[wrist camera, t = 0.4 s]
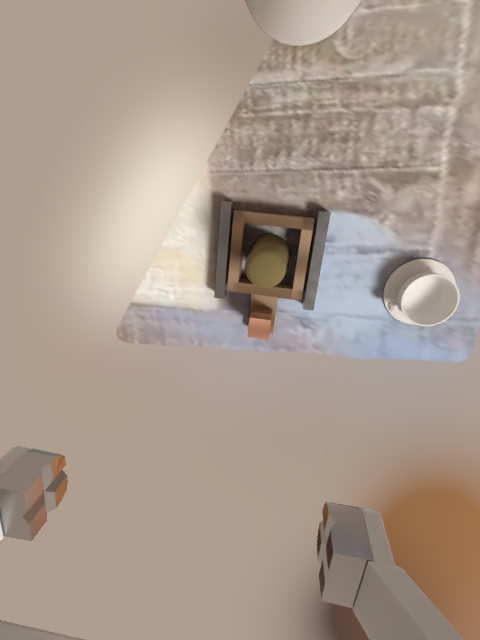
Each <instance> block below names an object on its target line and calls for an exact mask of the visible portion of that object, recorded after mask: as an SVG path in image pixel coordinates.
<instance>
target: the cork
mask: <svg viewBox="0 0 480 640" xmlns="http://www.w3.org/2000/svg"><path fill="white" fill-rule="evenodd" d="M289 258H290V250H289V247H288V245H287V243H286V242H285V241H284V240H283V239H282V238H281V237H279V236H277V235H272V234H268V235H263V236H261V237H259V238H258V239H257V240H256V241H255V242H254V243H253V245H252V247H251V249H250V254H249V256H248V258H247V260H246V263H245V272H246V275H247V277H248V279H249V280H250V281H251V282H252V283H253V284H254V285H256V286H258V287H261V288H271V287H273V286H275V285H277V284H279V283H280V282H281V281H282V279H283V278H284V276H285V273H286V265H287V264H288V262H289Z"/></svg>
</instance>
